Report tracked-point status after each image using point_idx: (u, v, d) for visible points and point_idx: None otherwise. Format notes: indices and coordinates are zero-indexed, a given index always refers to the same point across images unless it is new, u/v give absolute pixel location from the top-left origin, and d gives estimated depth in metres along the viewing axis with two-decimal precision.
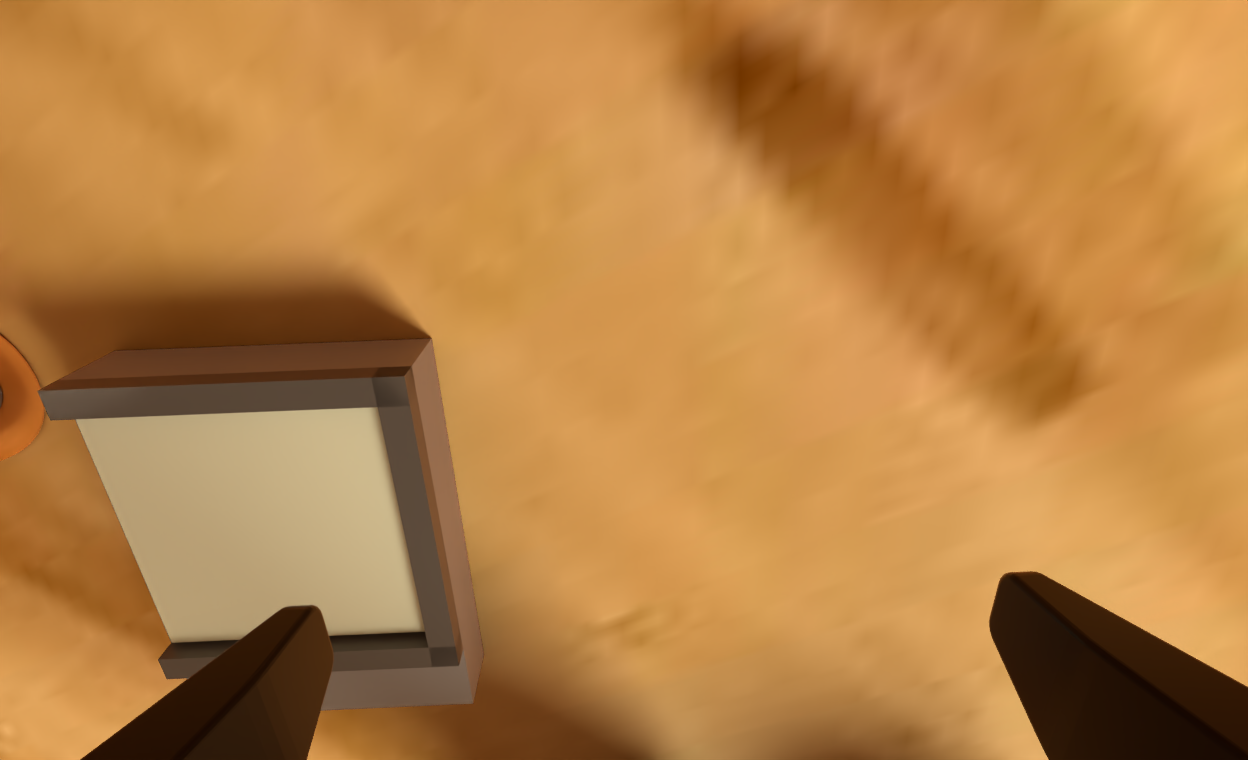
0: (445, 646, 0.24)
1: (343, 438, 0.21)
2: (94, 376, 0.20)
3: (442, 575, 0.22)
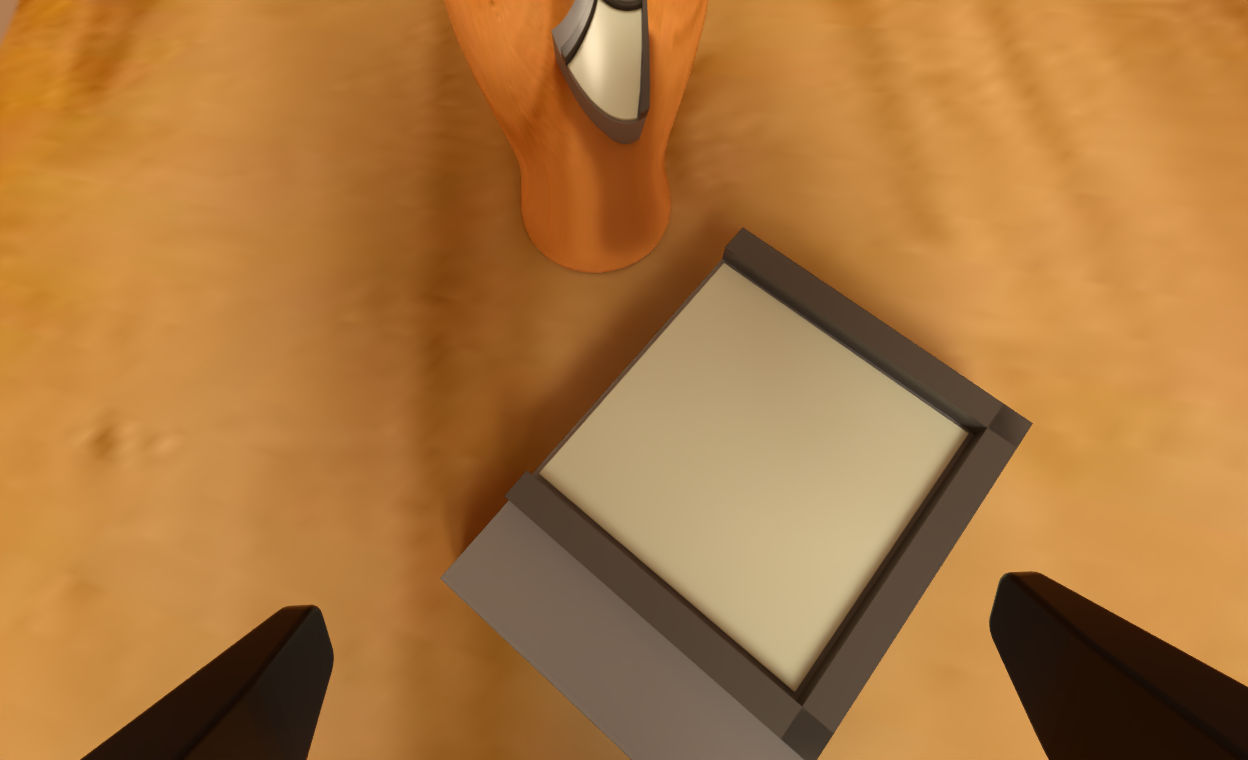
0: (822, 723, 0.17)
1: (912, 434, 0.20)
2: None
3: (898, 630, 0.18)
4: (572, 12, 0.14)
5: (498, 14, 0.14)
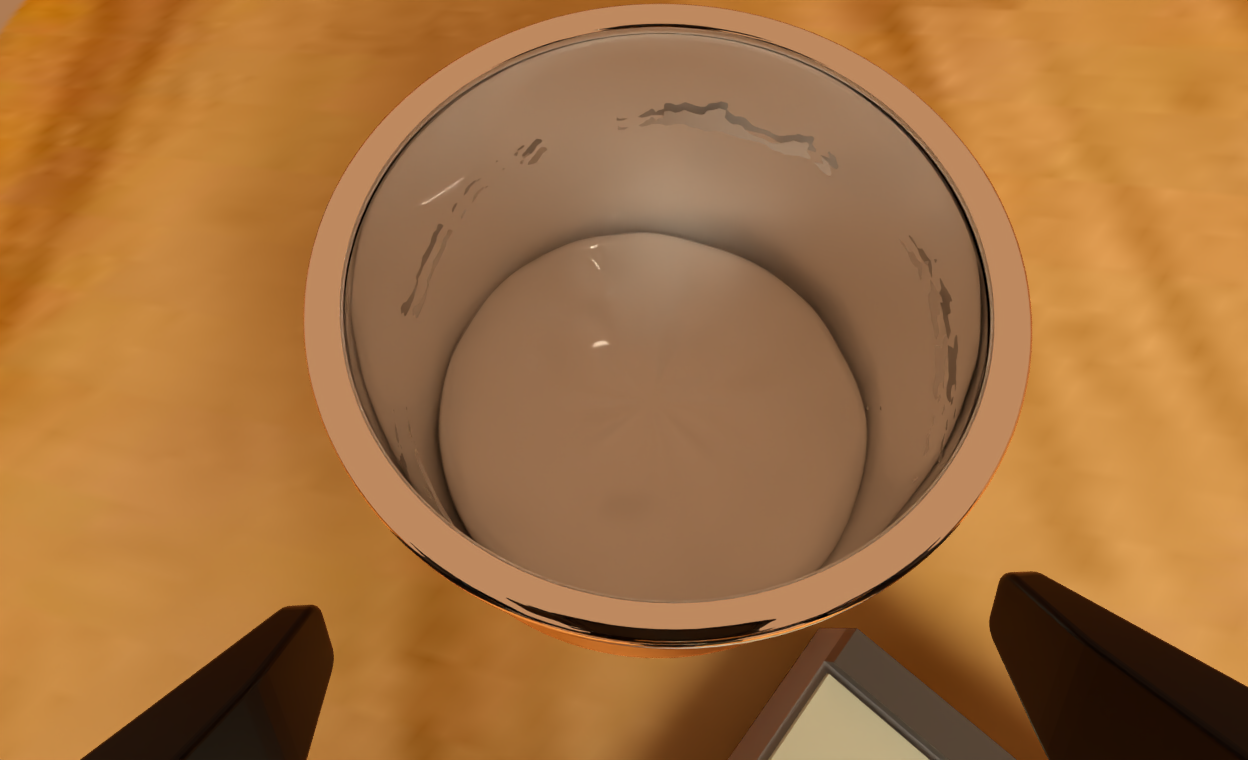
0: None
1: None
2: None
3: None
4: (666, 657, 0.07)
5: None
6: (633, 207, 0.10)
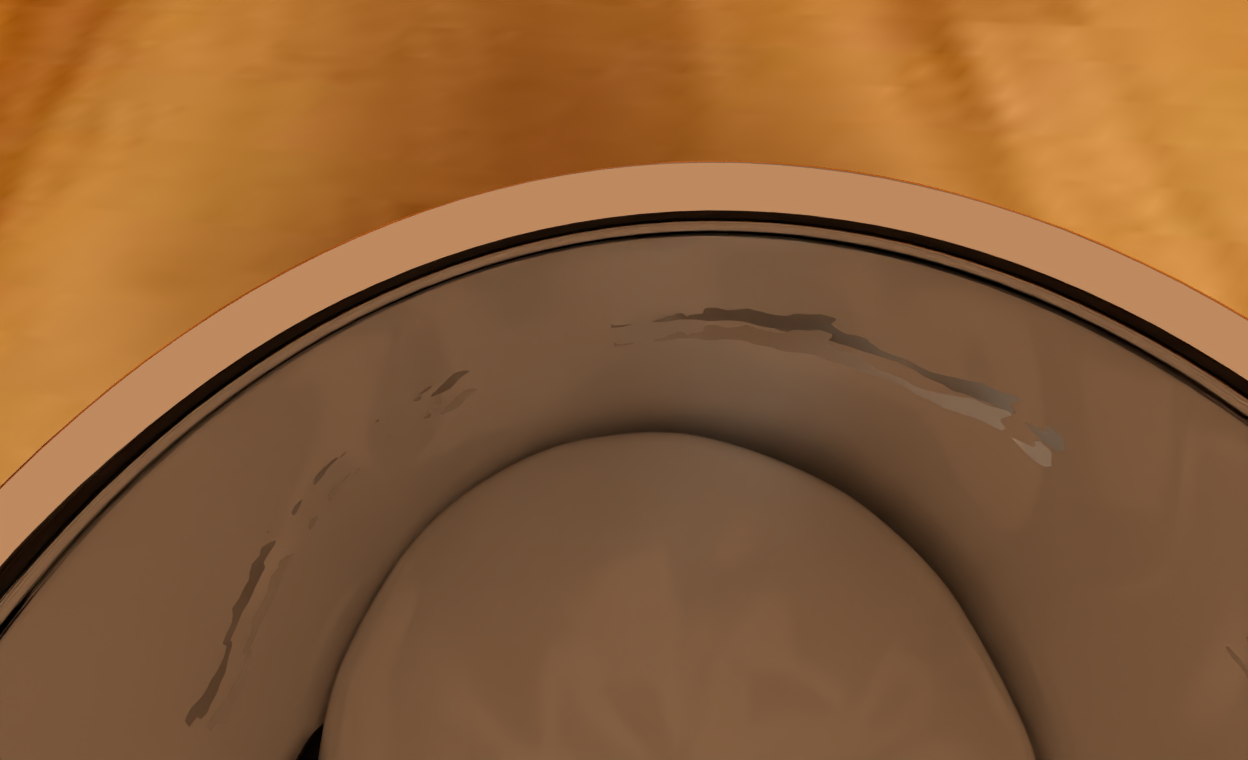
0: None
1: None
2: None
3: None
4: None
5: None
6: (641, 407, 0.06)
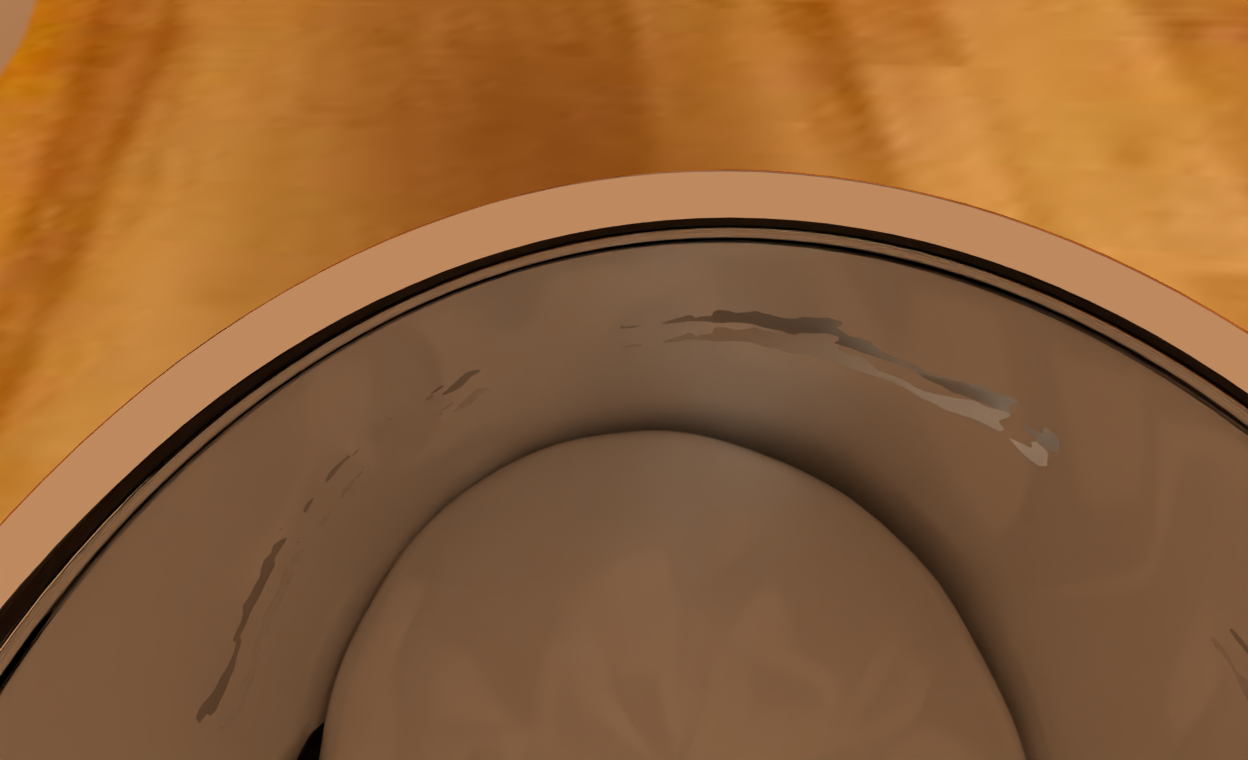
0: None
1: None
2: None
3: None
4: None
5: None
6: (642, 406, 0.06)
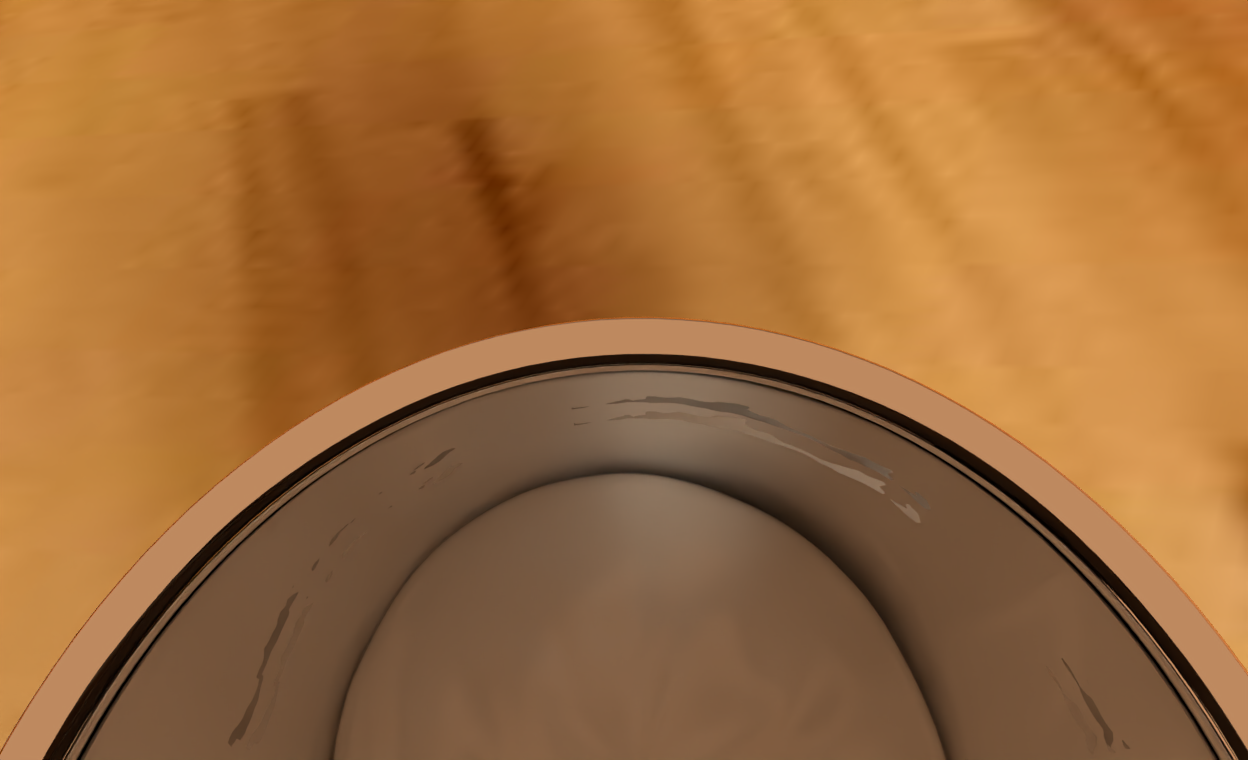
0: None
1: None
2: None
3: None
4: None
5: None
6: (607, 456, 0.07)
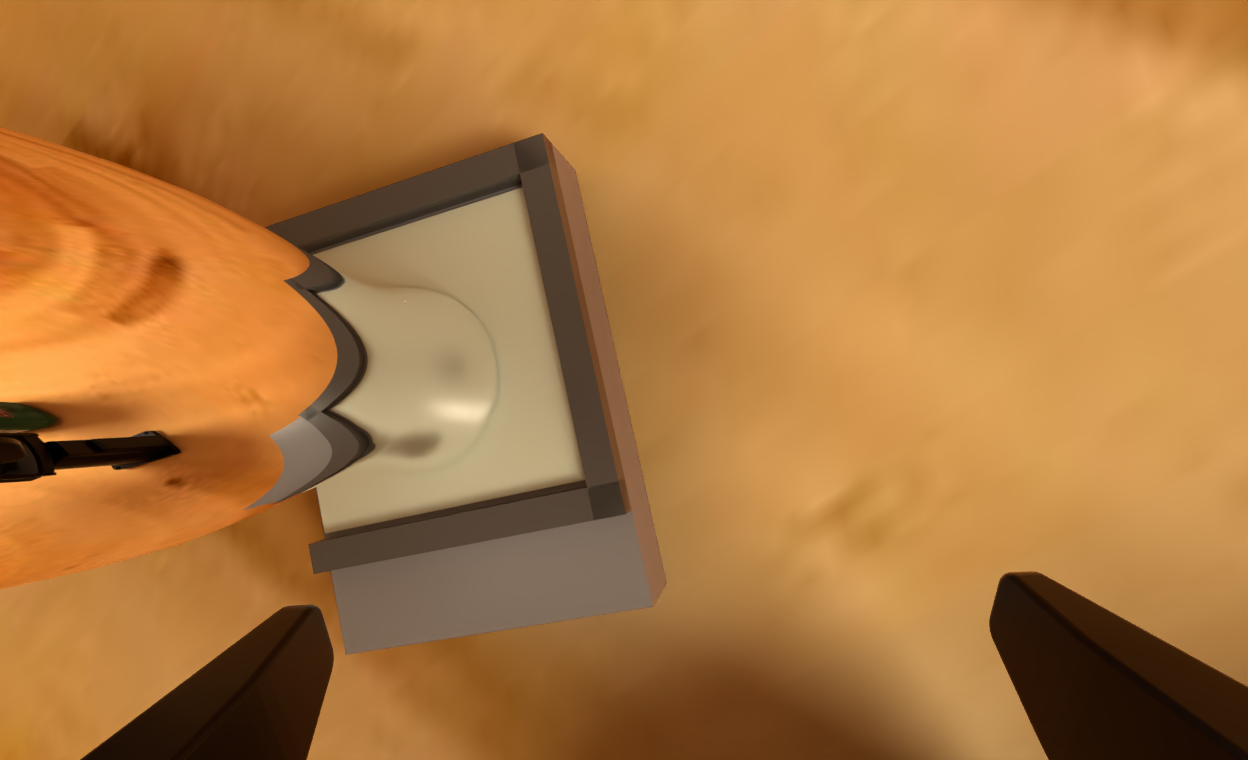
0: (606, 483, 0.19)
1: (492, 233, 0.21)
2: None
3: (595, 373, 0.19)
4: (93, 529, 0.09)
5: (39, 579, 0.10)
6: None
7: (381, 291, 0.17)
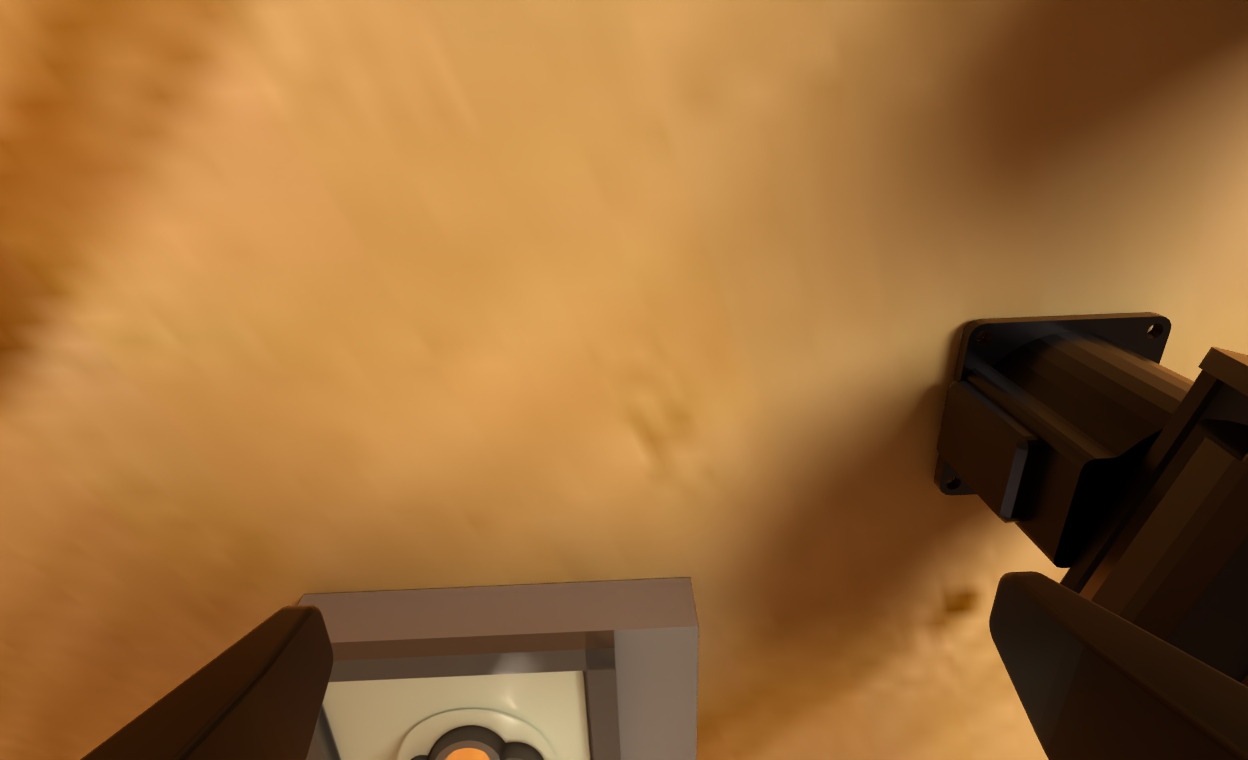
0: (585, 657, 0.22)
1: (353, 698, 0.23)
2: None
3: (488, 652, 0.22)
4: None
5: None
6: None
7: None
